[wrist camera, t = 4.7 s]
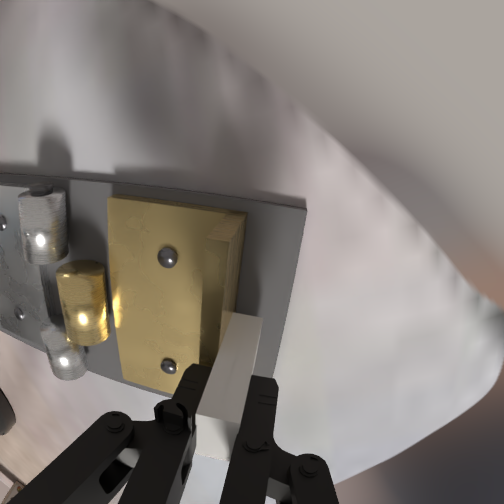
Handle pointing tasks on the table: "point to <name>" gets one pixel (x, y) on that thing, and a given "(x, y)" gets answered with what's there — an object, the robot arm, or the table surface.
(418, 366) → the table surface
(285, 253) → the grey two-tone fixture
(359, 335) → the table surface
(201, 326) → the loose leaf
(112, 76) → the table surface
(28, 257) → the fixed leaf
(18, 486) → the decorative jar
